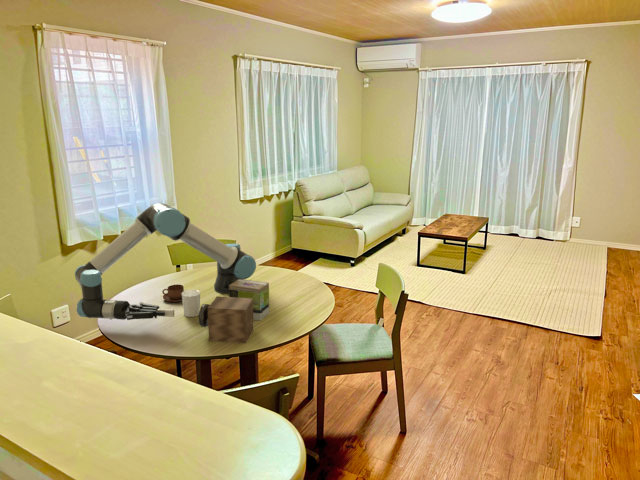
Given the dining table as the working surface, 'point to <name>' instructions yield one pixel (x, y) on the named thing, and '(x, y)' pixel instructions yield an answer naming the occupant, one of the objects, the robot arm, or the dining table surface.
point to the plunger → (203, 315)
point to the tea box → (252, 295)
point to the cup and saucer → (173, 293)
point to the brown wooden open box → (230, 319)
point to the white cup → (191, 302)
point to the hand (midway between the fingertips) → (173, 313)
